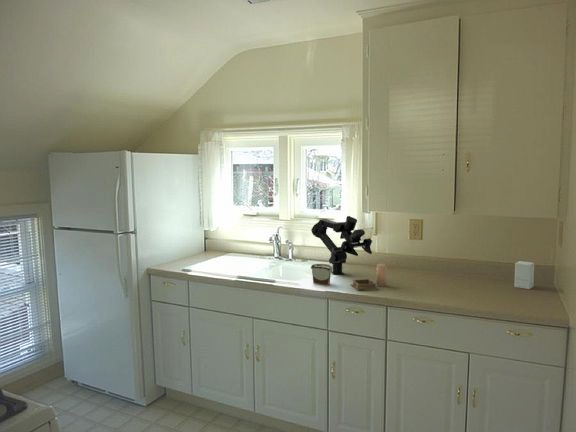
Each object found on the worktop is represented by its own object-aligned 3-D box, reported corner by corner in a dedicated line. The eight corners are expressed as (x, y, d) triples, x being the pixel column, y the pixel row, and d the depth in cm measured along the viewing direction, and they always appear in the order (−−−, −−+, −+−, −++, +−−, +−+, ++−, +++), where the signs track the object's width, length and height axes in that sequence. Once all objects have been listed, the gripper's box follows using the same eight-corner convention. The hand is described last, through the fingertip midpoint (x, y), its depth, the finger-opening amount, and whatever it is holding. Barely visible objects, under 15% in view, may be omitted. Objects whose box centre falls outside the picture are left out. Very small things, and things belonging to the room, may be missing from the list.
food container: (336, 283, 237) (336, 265, 236) (330, 286, 232) (330, 267, 230) (316, 280, 244) (316, 262, 242) (310, 282, 239) (310, 264, 237)
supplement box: (533, 286, 225) (535, 262, 224) (529, 289, 220) (530, 265, 219) (518, 284, 231) (519, 260, 229) (513, 286, 225) (514, 262, 224)
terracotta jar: (375, 284, 234) (375, 264, 232) (383, 283, 235) (384, 263, 233) (378, 286, 229) (379, 266, 227) (387, 286, 230) (387, 265, 228)
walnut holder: (350, 285, 232) (350, 279, 232) (369, 284, 234) (369, 278, 234) (357, 291, 221) (357, 285, 221) (378, 289, 224) (378, 283, 223)
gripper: (339, 226, 237) (354, 244, 226) (367, 224, 246) (383, 241, 234) (334, 243, 243) (348, 260, 232) (361, 240, 252) (376, 257, 240)
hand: (364, 254), depth 234 cm, fingers open, 9 cm apart
